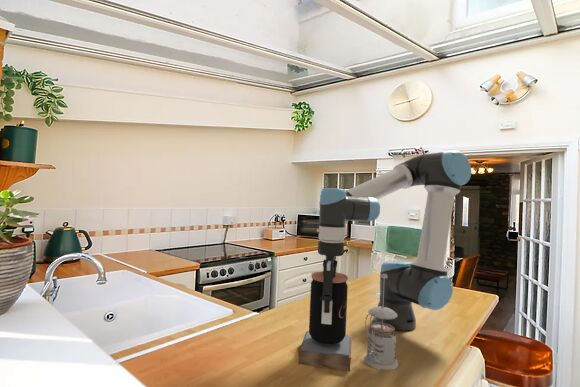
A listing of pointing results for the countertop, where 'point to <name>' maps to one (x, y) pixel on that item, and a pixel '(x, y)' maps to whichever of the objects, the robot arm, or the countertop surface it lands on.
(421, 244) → the robot arm
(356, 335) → the countertop surface
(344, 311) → the coffee jar
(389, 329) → the glass coffee plunger
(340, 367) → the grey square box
